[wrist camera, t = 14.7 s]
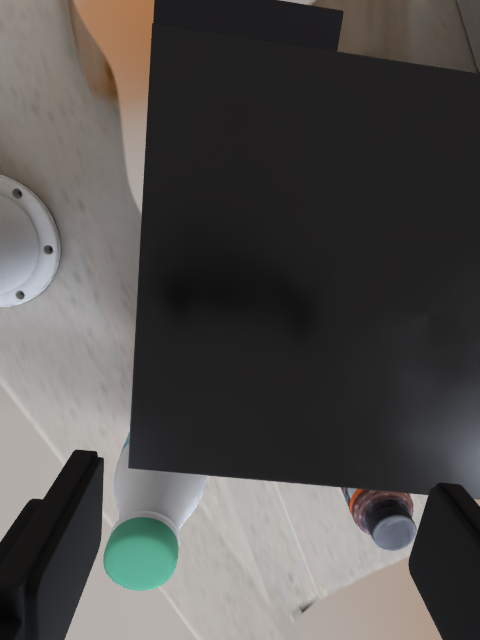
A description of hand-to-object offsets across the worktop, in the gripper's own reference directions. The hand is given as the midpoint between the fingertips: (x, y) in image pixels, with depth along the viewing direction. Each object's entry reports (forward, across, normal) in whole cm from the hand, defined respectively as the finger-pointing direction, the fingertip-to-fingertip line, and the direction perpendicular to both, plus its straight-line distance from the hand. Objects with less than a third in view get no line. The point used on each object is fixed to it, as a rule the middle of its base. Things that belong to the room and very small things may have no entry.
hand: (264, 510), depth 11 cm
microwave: (+30, -9, -5) cm, 32 cm away
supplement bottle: (+31, -16, +18) cm, 39 cm away
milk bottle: (+31, +5, +14) cm, 34 cm away
